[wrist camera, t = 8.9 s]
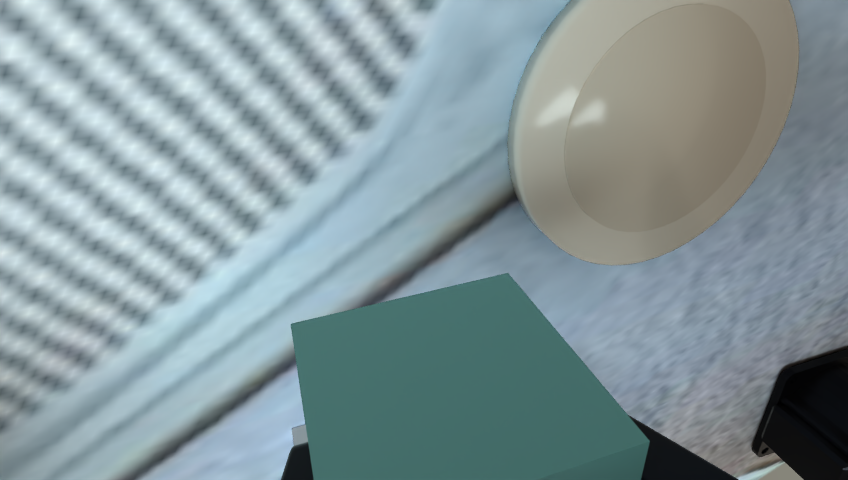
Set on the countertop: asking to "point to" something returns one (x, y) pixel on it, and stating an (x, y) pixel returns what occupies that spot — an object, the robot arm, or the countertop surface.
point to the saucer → (648, 120)
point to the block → (457, 393)
